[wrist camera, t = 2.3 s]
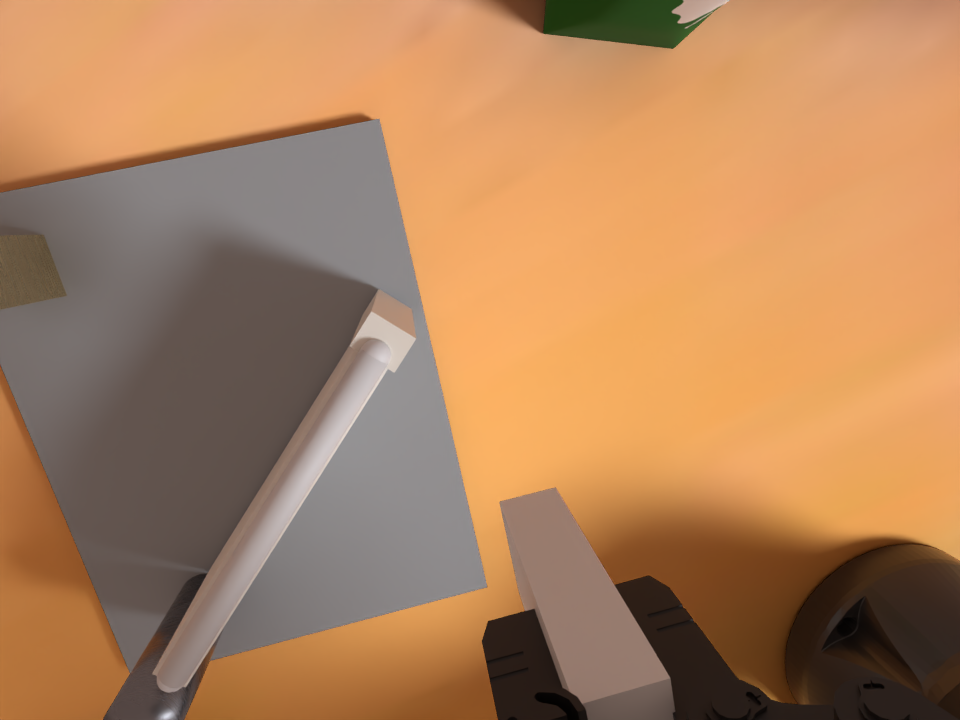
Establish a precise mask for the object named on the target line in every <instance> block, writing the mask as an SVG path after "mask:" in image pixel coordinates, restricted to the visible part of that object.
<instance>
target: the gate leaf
mask: <svg viewBox="0 0 960 720" xmlns="http://www.w3.org/2000/svg"><path fill="white" fill-rule="evenodd" d="M415 340H416V333H415V327H414V320H413V313H412V309H411V308H409V307H407V306H406V305H404V304H403V303H401V302H399V301H398V300H396V299H395V298H393V297H391V296H390V295H388V294H386V293H385V292H383V291H382V290H380V289H378V291H377V292H376V294H375V296H374V297H373V299H372V300H371V302H370V304H369V305H368V307H367V309H366V310H365V312H364V313H363V315H362V317H361V320H360V322H359V325H358V327H357V329H356V332H355V334H354V337H353V339H352V341H351V343H350V345H349V347H348V348H347V350H346V352H345V353H344V355H343V356H342V358H341V360H340V361H339V363H338V364H337V366H336V368H335V369H334V371H333V372H332V374H331V376H330V377H329V379H328V380H327V382H326V384H325V385H324V387H323V388H322V390H321V392H320V393H319V395H318V396H317V398H316V400H315V401H314V403H313V404H312V406H311V408H310V409H309V411H308V413H307V414H306V416H305V417H304V419H303V421H302V422H301V424H300V425H299V427H298V429H297V430H296V432H295V433H294V435H293V437H292V438H291V440H290V441H289V443H288V445H287V446H286V448H285V449H284V451H283V453H282V454H281V456H280V457H279V459H278V461H277V462H276V464H275V465H274V467H273V469H272V470H271V472H270V473H269V475H268V477H267V478H266V480H265V482H264V483H263V485H262V486H261V488H260V490H259V491H258V493H257V494H256V496H255V498H254V499H253V501H252V502H251V504H250V506H249V507H248V509H247V510H246V512H245V514H244V515H243V517H242V518H241V520H240V522H239V523H238V525H237V526H236V528H235V530H234V531H233V533H232V534H231V536H230V538H229V539H228V541H227V542H226V544H225V546H224V547H223V549H222V551H221V552H220V554H219V555H218V557H217V559H216V560H215V562H214V563H213V565H212V567H211V568H210V570H209V572H208V574H207V575H206V577H205V579H204V581H203V583H202V585H201V586H200V588H199V590H198V592H197V594H196V595H195V597H194V599H193V601H192V603H191V604H190V606H189V608H188V610H187V612H186V613H185V615H184V617H183V619H182V621H181V622H180V624H179V626H178V628H177V630H176V631H175V633H174V635H173V637H172V639H171V641H170V642H169V644H168V646H167V648H166V650H165V651H164V653H163V655H162V657H161V659H160V660H159V662H158V664H157V666H156V668H155V669H154V671H153V673H152V674H153V675H156V676H157V685H158V687H159V688H160V689H161V690H162V691H164V692H168V693H169V692H175V691H177V690H179V689H181V688H182V687H185V688H186V686H187V685H188V683H189V681H190V680H191V678H192V677H193V675H194V674H195V672H196V670H197V669H198V667H199V666H200V664H201V663H202V661H203V659H204V658H205V656H206V655H207V653H208V652H209V650H210V648H211V647H212V645H213V644H214V642H215V641H216V639H217V637H218V636H219V634H220V633H221V631H222V629H223V628H224V626H225V625H226V623H227V622H228V620H229V618H230V617H231V615H232V614H233V612H234V611H235V609H236V607H237V606H238V604H239V603H240V601H241V600H242V598H243V596H244V595H245V593H246V592H247V590H248V589H249V587H250V585H251V584H252V582H253V581H254V579H255V578H256V576H257V574H258V573H259V571H260V570H261V568H262V567H263V565H264V563H265V562H266V560H267V559H268V557H269V556H270V554H271V552H272V551H273V549H274V548H275V546H276V545H277V543H278V541H279V540H280V538H281V537H282V535H283V534H284V532H285V530H286V529H287V527H288V526H289V524H290V522H291V521H292V519H293V518H294V516H295V515H296V513H297V511H298V510H299V508H300V507H301V505H302V504H303V502H304V500H305V499H306V497H307V496H308V494H309V493H310V491H311V489H312V488H313V486H314V485H315V483H316V482H317V480H318V478H319V477H320V475H321V474H322V472H323V471H324V469H325V467H326V466H327V464H328V463H329V461H330V460H331V458H332V456H333V455H334V453H335V452H336V450H337V449H338V447H339V445H340V444H341V442H342V441H343V439H344V438H345V436H346V434H347V433H348V431H349V430H350V428H351V427H352V425H353V423H354V422H355V420H356V419H357V417H358V416H359V414H360V412H361V411H362V409H363V408H364V406H365V404H366V403H367V401H368V400H369V398H370V397H371V395H372V393H373V392H374V390H375V389H376V387H377V386H378V384H379V382H380V381H381V379H382V378H383V376H384V375H385V373H386V371H387V370H388V369H389V370H390V371H392V372H394V373H395V371H396V370H397V368H398V367H399V365H400V364H401V362H402V360H403V359H404V357H405V356H406V354H407V353H408V351H409V349H410V348H411V346H412V345H413V343H414V342H415Z"/></svg>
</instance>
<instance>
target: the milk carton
mask: <svg viewBox="0 0 960 720" xmlns="http://www.w3.org/2000/svg"><path fill="white" fill-rule="evenodd" d="M728 1H729V0H546V4H545V17H544V30H543V34H551V35H560V36H568V37H577V38H585V39H594V40H603V41H611V42H620V43H629V44H637V45H646V46H655V47H663V48H671V49H673V48H675V47H676V46H677V45H678V44H679V43H680V42H681V41H682V40H683V39H684V38H685V37H687V36H688V35H689V34H690V33H691V32H692V31H693V30H694V29H695V28H696V27H697V26H699V25H700V24H701V23H702V22H703V21H704V20H705V19H706V18H707V17H708V16H709V15H711V14H712V13H713V12H714V11H715V10H716V9H718V8H719V7H721V6H722V5H724V4H725V3H727V2H728Z"/></svg>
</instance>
